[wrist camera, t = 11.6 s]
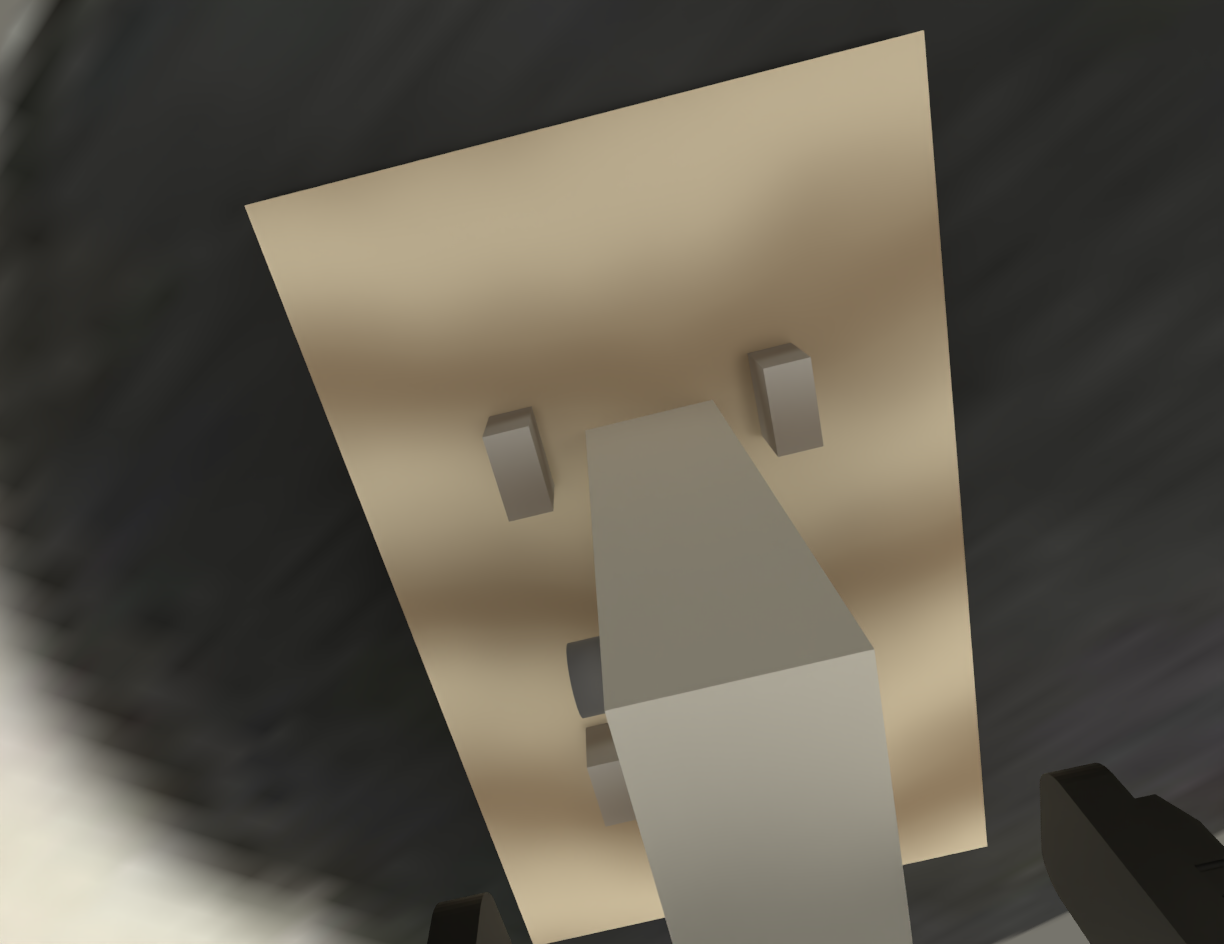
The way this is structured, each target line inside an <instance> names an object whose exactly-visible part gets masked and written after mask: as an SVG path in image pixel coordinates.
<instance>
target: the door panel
mask: <svg viewBox="0 0 1224 944" xmlns="http://www.w3.org/2000/svg"><path fill="white" fill-rule="evenodd" d="M585 434H586V448H587V463H588V477H589V492H590V506H591V521H592V535H593V550H594V565H595V579H596V594H597V608H598V623H599V636H596V637H592V638H588V639H584V640H579V641H575V642H571V643H567V646H566V655H567V665H568V671H569V677H570V682H571V687H572V691H573V695H574V699H575V702H576V706H577V709H578V711H579V714H580V716H581V717H582V718H587V717H592V716H596V715H600V714H606V718H607V721H608V724H609V728H610V731H611V735H612V738H613V741H614V745H615V748H616V752H617V755H618V758H619V762H620V765H621V769H622V772H623V776H624V779H625V782H626V786H627V789H628V793H629V796H630V799H631V803H632V806H633V810H634V813H635V816H636V820H637V823H638V827H639V830H640V834H641V837H642V840H643V844H644V847H645V851H646V854H647V857H648V861H649V864H650V868H651V871H652V874H653V878H654V881H655V885H656V888H657V891H658V895H659V898H660V902H661V905H662V909H663V912H664V915H665V919H666V922H667V926H668V929H669V932H670V936H671V939H672V943H673V944H913V942H912V934H911V927H910V919H909V911H908V904H907V896H906V888H905V881H904V873H903V865H902V858H901V850H900V842H899V835H898V827H897V819H896V812H895V804H894V796H893V789H892V781H891V773H890V765H889V758H888V750H887V742H886V735H885V727H884V719H883V712H882V704H881V696H880V689H879V681H878V673H877V666H876V658H875V650H874V648H873V646H872V645H871V643H870V642H869V640H868V639H867V637H866V636H865V634H864V632H863V631H862V629H861V628H860V626H859V625H858V623H857V622H856V620H855V619H854V617H853V615H852V614H851V612H850V611H849V609H848V608H847V606H846V605H845V603H844V602H843V600H842V599H841V597H840V595H839V594H838V592H837V591H836V589H835V588H834V586H833V585H832V583H831V582H830V580H829V578H828V577H827V575H826V574H825V572H824V571H823V569H822V568H821V566H820V565H819V563H818V562H817V560H816V558H815V557H814V555H813V554H812V552H811V551H810V549H809V548H808V546H807V545H806V543H805V541H804V540H803V538H802V537H801V535H800V534H799V532H798V531H797V529H796V528H795V526H794V525H793V523H792V521H791V520H790V518H789V517H788V515H787V514H786V512H785V511H784V509H783V508H782V506H781V504H780V503H779V501H778V500H777V498H776V497H775V495H774V494H773V492H772V491H771V489H770V487H769V486H768V484H767V483H766V481H765V480H764V478H763V477H762V475H761V474H760V472H759V471H758V469H757V467H756V466H755V464H754V463H753V461H752V460H751V458H750V457H749V455H748V454H747V452H746V450H745V449H744V447H743V446H742V444H741V443H740V441H739V440H738V438H737V437H736V435H735V434H734V432H733V430H732V429H731V427H730V426H729V424H728V423H727V421H726V420H725V418H724V417H723V415H722V413H721V412H720V410H719V409H718V407H717V406H716V404H715V403H714V401H713V400H709V401H705V402H701V403H697V404H693V405H688V406H684V407H680V408H676V409H672V410H668V411H664V412H660V413H655V414H651V415H647V416H643V417H639V418H635V419H631V420H626V421H622V422H618V423H614V424H610V425H606V426H602V427H597V428H593V429H589V430H585Z"/></svg>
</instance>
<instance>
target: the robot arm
mask: <svg viewBox="0 0 1224 944" xmlns="http://www.w3.org/2000/svg"><path fill="white" fill-rule="evenodd" d="M1040 808H1041V846H1042V855H1043V859H1044V863H1045V866H1046V870H1047V872H1048V875H1049V877H1050V880H1051V882H1052V884H1053V886H1054V888H1055V890H1056V892H1057V894H1058V895H1059V897H1060V899H1061V900H1062V902H1063V903H1064V905H1065V906H1066V908H1067V909H1068V911H1069V912H1070V914H1071V915H1072V917H1073V918H1074V920H1075V921H1076V923H1077V924H1078V926H1079V927H1080V929H1081V930H1082V932H1083V933H1084V934H1085V936H1086V938H1087V939H1088V941H1089V942H1090V944H1224V846H1223V845H1222V844H1221V843H1220V842H1219V841H1218V840H1217V839H1216V838H1215V837H1214V836H1213V835H1212V834H1211V833H1210V832H1209V831H1208V829H1207V828H1206V827H1205V826H1204V825H1203V824H1202V823H1201V822H1200V821H1198V820H1197V819H1195V818H1193V817H1192V816H1190V815H1189V814H1187V813H1185V812H1184V811H1182V810H1180V809H1179V808H1177V807H1175V806H1174V805H1172V804H1170V803H1169V802H1167V801H1166V800H1164V799H1162V798H1161V797H1159V796H1157V795H1156V794H1154V795H1150V796H1145V797H1140V798H1136V799H1135V798H1134V797H1133V796H1132V795H1131V794H1130V793H1129V792H1128V790H1127V789H1126V788H1125V787H1124V786H1123V785H1122V784H1121V783H1120V781H1119V780H1118V779H1117V778H1116V777H1115V776H1114V775H1113V774H1112V773H1111V772H1110V771H1109V770H1108V769H1107V768H1106V767H1105V766H1103V765H1101V764H1099V763H1092V764H1087V765H1083V766H1078V767H1074V768H1069V769H1064V770H1060V771H1055V772H1050V773H1046V774H1043V775H1042V776H1041V779H1040ZM427 944H512V943H511V940H510V938H509V936H508V933H507V931H506V928H505V926H504V923H503V921H502V919H501V916H500V914H499V911H498V909H497V906H496V904H495V901H494V899H493V897H492V896H491V894H490V893H488V892H486V893H482V894H477V895H472V896H468V897H463V898H459V899H454V900H449V901H445V902H440V903H438V904H437V905H436V907H435V909H434V912H433V915H432V920H431V926H430V931H429V937H428V942H427Z"/></svg>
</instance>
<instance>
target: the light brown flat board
mask: <svg viewBox="0 0 1224 944" xmlns="http://www.w3.org/2000/svg"><path fill="white" fill-rule="evenodd" d="M245 208H246V211H247V213H248V216H249V219H250V221H251V224H252V226H253V229H254V231H255V234H256V236H257V239H258V242H259V244H260V247H261V249H262V252H263V254H264V257H265V259H266V262H267V265H268V267H269V270H270V272H271V275H272V277H273V280H274V283H275V285H276V288H277V290H278V293H279V295H280V298H281V300H282V303H283V306H284V308H285V311H286V313H287V316H288V318H289V321H290V323H291V326H292V329H293V331H294V334H295V336H296V339H297V341H298V344H299V346H300V349H301V352H302V354H303V357H304V359H305V362H306V364H307V367H308V369H309V372H310V375H311V377H312V380H313V382H314V385H315V387H316V390H317V392H318V395H319V398H320V400H321V403H322V405H323V408H324V410H325V413H326V415H327V418H328V421H329V423H330V426H331V428H332V431H333V433H334V436H335V438H336V441H337V444H338V446H339V449H340V451H341V454H342V456H343V459H344V461H345V464H346V467H347V469H348V472H349V474H350V477H351V479H352V482H353V484H354V487H355V490H356V492H357V495H358V497H359V500H360V502H361V505H362V507H363V510H364V513H365V515H366V518H367V520H368V523H369V525H370V528H371V530H372V533H373V536H374V538H375V541H376V543H377V546H378V548H379V551H380V553H381V556H382V559H383V561H384V564H385V566H386V569H387V571H388V574H389V577H390V579H391V582H392V584H393V587H394V589H395V592H396V594H397V597H398V600H399V602H400V605H401V607H402V610H403V612H404V615H405V617H406V620H407V623H408V625H409V628H410V630H411V633H412V635H413V638H414V640H415V643H416V646H417V648H418V651H419V653H420V656H421V658H422V661H423V663H424V666H425V669H426V671H427V674H428V676H429V679H430V681H431V684H432V686H433V689H434V692H435V694H436V697H437V699H438V702H439V704H440V707H441V709H442V712H443V715H444V717H445V720H446V722H447V725H448V727H449V730H450V732H451V735H452V738H453V740H454V743H455V745H456V748H457V750H458V753H459V755H460V758H461V761H462V763H463V766H464V768H465V771H466V773H467V776H468V778H469V781H470V784H471V786H472V789H473V791H474V794H475V796H476V799H477V801H478V804H479V807H480V809H481V812H482V814H483V817H484V819H485V822H486V824H487V827H488V830H489V832H490V835H491V837H492V840H493V842H494V845H495V848H496V850H497V853H498V855H499V858H500V860H501V863H502V865H503V868H504V871H505V873H506V876H507V878H508V881H509V883H510V886H511V888H512V891H513V894H514V896H515V899H516V901H517V904H518V906H519V909H520V911H521V914H522V917H523V919H524V922H525V924H526V927H527V929H528V932H529V934H530V937H531V940H532V942H533V944H547V943H551V942H556V941H560V940H565V939H569V938H574V937H578V936H583V935H588V934H592V933H597V932H601V931H606V930H610V929H615V928H619V927H624V926H628V925H633V924H637V923H642V922H646V921H651V920H655V919H660V918H665V915H664V912H663V909H662V905H661V902H660V898H659V895H658V891H657V888H656V885H655V881H654V878H653V874H652V871H651V868H650V864H649V861H648V857H647V854H646V851H645V847H644V844H643V840H642V837H641V834H640V830H639V827H638V823H637V820H636V816H635V813H634V810H633V806H632V803H631V799H630V796H629V793H628V789H627V786H626V782H625V779H624V776H623V772H622V769H621V765H620V762H619V758H618V755H617V752H616V748H615V745H614V741H613V738H612V735H611V731H610V728H609V724H608V721H607V718H606V714H600V715H596V716H592V717H587V718H582V717H581V716H580V714H579V711H578V709H577V706H576V702H575V699H574V695H573V691H572V687H571V682H570V677H569V671H568V665H567V655H566V646H567V643H571V642H575V641H579V640H584V639H588V638H592V637H596V636H599V623H598V608H597V594H596V579H595V565H594V550H593V535H592V521H591V506H590V492H589V477H588V463H587V448H586V434H585V430H589V429H593V428H597V427H602V426H606V425H610V424H614V423H618V422H622V421H626V420H631V419H635V418H639V417H643V416H647V415H651V414H655V413H660V412H664V411H668V410H672V409H676V408H680V407H684V406H688V405H693V404H697V403H701V402H705V401H709V400H713V401H714V403H715V404H716V406H717V407H718V409H719V410H720V412H721V413H722V415H723V417H724V418H725V420H726V421H727V423H728V424H729V426H730V427H731V429H732V430H733V432H734V434H735V435H736V437H737V438H738V440H739V441H740V443H741V444H742V446H743V447H744V449H745V450H746V452H747V454H748V455H749V457H750V458H751V460H752V461H753V463H754V464H755V466H756V467H757V469H758V471H759V472H760V474H761V475H762V477H763V478H764V480H765V481H766V483H767V484H768V486H769V487H770V489H771V491H772V492H773V494H774V495H775V497H776V498H777V500H778V501H779V503H780V504H781V506H782V508H783V509H784V511H785V512H786V514H787V515H788V517H789V518H790V520H791V521H792V523H793V525H794V526H795V528H796V529H797V531H798V532H799V534H800V535H801V537H802V538H803V540H804V541H805V543H806V545H807V546H808V548H809V549H810V551H811V552H812V554H813V555H814V557H815V558H816V560H817V562H818V563H819V565H820V566H821V568H822V569H823V571H824V572H825V574H826V575H827V577H828V578H829V580H830V582H831V583H832V585H833V586H834V588H835V589H836V591H837V592H838V594H839V595H840V597H841V599H842V600H843V602H844V603H845V605H846V606H847V608H848V609H849V611H850V612H851V614H852V615H853V617H854V619H855V620H856V622H857V623H858V625H859V626H860V628H861V629H862V631H863V632H864V634H865V636H866V637H867V639H868V640H869V642H870V643H871V645H872V646H873V648H874V650H875V658H876V666H877V673H878V681H879V689H880V696H881V704H882V712H883V719H884V727H885V735H886V742H887V750H888V758H889V765H890V773H891V781H892V789H893V796H894V804H895V812H896V819H897V827H898V835H899V842H900V850H901V858H902V865H905V864H909V863H914V862H918V861H923V860H927V859H932V858H936V857H941V856H945V855H950V854H955V853H959V852H964V851H968V850H973V849H977V848H982V847H986V846H987V838H986V825H985V812H984V799H983V786H982V774H981V761H980V748H979V735H978V722H977V709H976V696H975V683H974V670H973V657H972V644H971V631H970V619H969V606H968V593H967V580H966V567H965V554H964V541H963V528H962V515H961V502H960V489H959V477H958V464H957V451H956V438H955V425H954V412H953V399H952V386H951V373H950V360H949V347H948V334H947V322H946V309H945V296H944V283H943V270H942V257H941V244H940V231H939V218H938V205H937V192H936V179H935V167H934V154H933V141H932V128H931V115H930V102H929V89H928V76H927V63H926V50H925V37H924V30H923V31H919V32H915V33H911V34H907V35H904V36H900V37H896V38H892V39H888V40H884V41H880V42H876V43H873V44H869V45H865V46H861V47H857V48H853V49H849V50H845V51H842V52H838V53H834V54H830V55H826V56H822V57H818V58H814V59H811V60H807V61H803V62H799V63H795V64H791V65H787V66H783V67H780V68H776V69H772V70H768V71H764V72H760V73H756V74H752V75H749V76H745V77H741V78H737V79H733V80H729V81H725V82H721V83H718V84H714V85H710V86H706V87H702V88H698V89H694V90H690V91H687V92H683V93H679V94H675V95H671V96H667V97H663V98H659V99H656V100H652V101H648V102H644V103H640V104H636V105H632V106H628V107H625V108H621V109H617V110H613V111H609V112H605V113H601V114H597V115H594V116H590V117H586V118H582V119H578V120H574V121H570V122H566V123H563V124H559V125H555V126H551V127H547V128H543V129H539V130H535V131H532V132H528V133H524V134H520V135H516V136H512V137H508V138H504V139H501V140H497V141H493V142H489V143H485V144H481V145H477V146H473V147H470V148H466V149H462V150H458V151H454V152H450V153H446V154H442V155H439V156H435V157H431V158H427V159H423V160H419V161H415V162H411V163H408V164H404V165H400V166H396V167H392V168H388V169H384V170H380V171H377V172H373V173H369V174H365V175H361V176H357V177H353V178H349V179H346V180H342V181H338V182H334V183H330V184H326V185H322V186H318V187H315V188H311V189H307V190H303V191H299V192H295V193H291V194H287V195H284V196H280V197H276V198H272V199H268V200H264V201H260V202H256V203H253V204H249V205H245Z"/></svg>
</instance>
